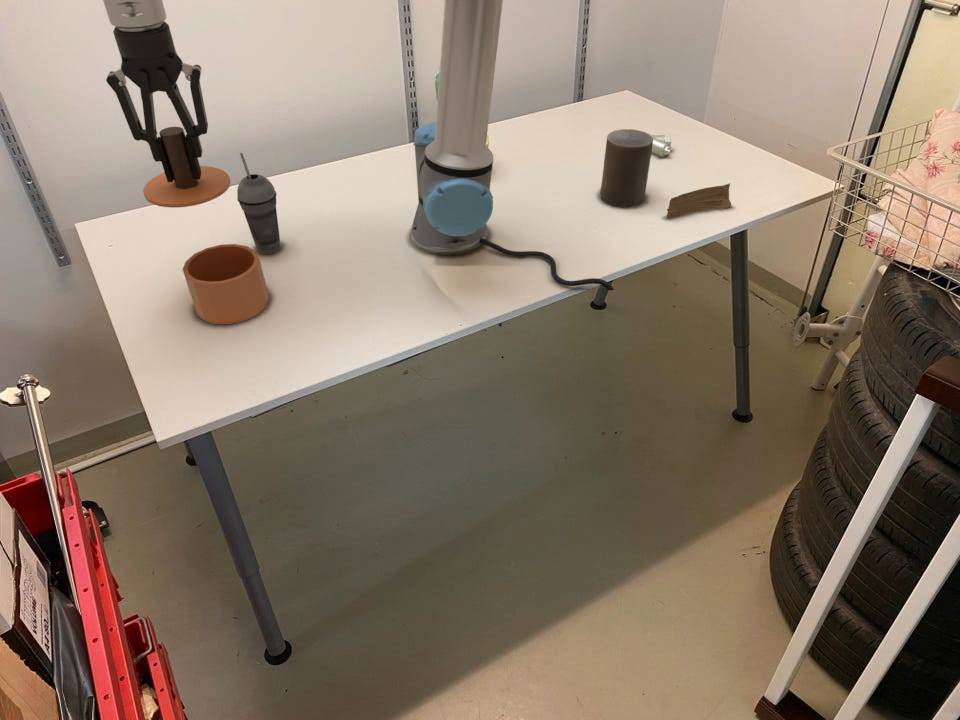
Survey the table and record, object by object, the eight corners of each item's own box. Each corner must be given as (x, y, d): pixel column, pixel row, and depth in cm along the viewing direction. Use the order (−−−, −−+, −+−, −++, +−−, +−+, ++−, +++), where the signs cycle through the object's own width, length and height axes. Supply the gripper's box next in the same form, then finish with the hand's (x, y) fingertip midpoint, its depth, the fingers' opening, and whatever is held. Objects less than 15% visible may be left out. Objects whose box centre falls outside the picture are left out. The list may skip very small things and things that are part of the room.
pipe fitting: (671, 159, 175) (666, 146, 179) (674, 145, 172) (669, 131, 177) (638, 160, 175) (634, 146, 179) (640, 145, 172) (636, 131, 177)
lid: (247, 178, 123) (233, 119, 116) (200, 216, 113) (183, 154, 106) (178, 168, 126) (161, 110, 119) (127, 204, 116) (105, 143, 109)
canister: (281, 289, 133) (272, 250, 128) (244, 330, 124) (232, 289, 119) (221, 278, 136) (210, 239, 131) (181, 317, 127) (167, 276, 122)
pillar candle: (625, 212, 154) (634, 145, 145) (590, 196, 160) (597, 130, 150) (653, 197, 159) (664, 132, 149) (619, 182, 165) (627, 118, 155)
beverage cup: (278, 259, 141) (257, 163, 128) (244, 256, 142) (219, 160, 129) (293, 240, 146) (274, 146, 133) (259, 237, 148) (237, 143, 135)
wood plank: (670, 221, 151) (674, 200, 148) (664, 217, 153) (668, 195, 149) (730, 207, 156) (735, 186, 152) (724, 203, 157) (729, 182, 154)
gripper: (72, 36, 98) (127, 193, 113) (199, 27, 101) (236, 181, 116) (82, 20, 104) (134, 172, 119) (202, 13, 107) (238, 162, 122)
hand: (184, 176), depth 118 cm, fingers closed on lid, 4 cm apart
